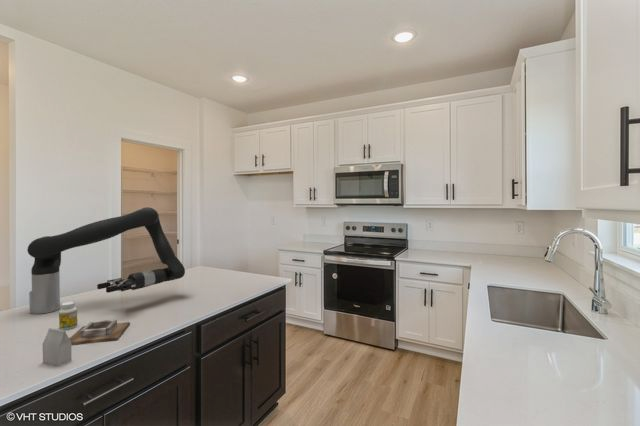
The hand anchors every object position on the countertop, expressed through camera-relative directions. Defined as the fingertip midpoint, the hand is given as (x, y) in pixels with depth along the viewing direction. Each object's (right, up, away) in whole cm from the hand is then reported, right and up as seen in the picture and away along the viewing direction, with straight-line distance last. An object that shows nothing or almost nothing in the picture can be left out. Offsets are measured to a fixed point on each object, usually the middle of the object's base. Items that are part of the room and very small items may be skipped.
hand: (101, 288), depth 126 cm
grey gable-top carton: (+10, -15, -33) cm, 38 cm away
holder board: (+10, -14, -14) cm, 22 cm away
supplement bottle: (-7, -13, -9) cm, 17 cm away
